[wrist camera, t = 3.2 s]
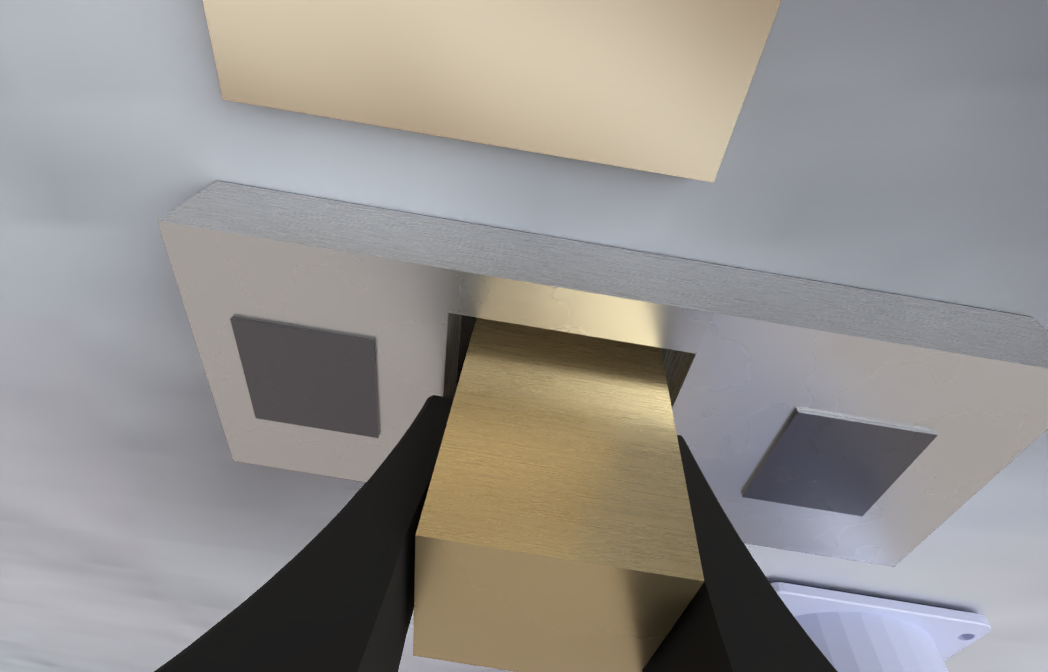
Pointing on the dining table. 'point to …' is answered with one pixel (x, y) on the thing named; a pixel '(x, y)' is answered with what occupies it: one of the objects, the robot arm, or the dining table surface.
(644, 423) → the brass peg
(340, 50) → the birch pad
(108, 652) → the dining table surface
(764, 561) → the dining table surface
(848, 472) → the grey peg hole board
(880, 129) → the dining table surface
